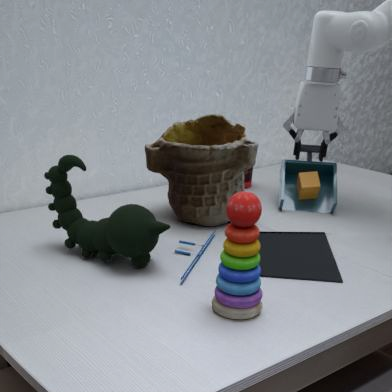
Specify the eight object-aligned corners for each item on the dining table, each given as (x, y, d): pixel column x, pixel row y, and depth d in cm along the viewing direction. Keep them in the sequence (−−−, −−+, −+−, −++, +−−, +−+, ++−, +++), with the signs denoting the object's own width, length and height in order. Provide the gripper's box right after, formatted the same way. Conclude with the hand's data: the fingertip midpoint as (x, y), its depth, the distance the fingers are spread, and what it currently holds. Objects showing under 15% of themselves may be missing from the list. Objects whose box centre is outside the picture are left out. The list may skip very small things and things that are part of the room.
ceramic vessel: (183, 209, 95) (151, 83, 96) (150, 248, 118) (124, 146, 118) (284, 196, 103) (254, 80, 104) (235, 235, 126) (211, 140, 127)
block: (313, 183, 125) (317, 171, 121) (316, 198, 123) (320, 186, 119) (295, 185, 125) (298, 172, 121) (298, 199, 123) (301, 187, 119)
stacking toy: (221, 293, 85) (230, 180, 75) (267, 304, 82) (282, 188, 72) (204, 314, 79) (211, 194, 68) (252, 326, 76) (267, 203, 66)
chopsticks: (153, 272, 87) (181, 277, 86) (191, 225, 107) (215, 229, 107) (152, 279, 88) (181, 285, 87) (191, 232, 108) (214, 236, 107)
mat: (319, 220, 119) (319, 218, 119) (342, 282, 91) (343, 281, 90) (243, 214, 120) (243, 213, 120) (243, 275, 91) (243, 273, 91)
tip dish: (332, 161, 128) (337, 144, 123) (332, 215, 122) (338, 200, 117) (280, 158, 129) (283, 141, 123) (278, 211, 123) (281, 196, 117)
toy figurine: (48, 261, 96) (159, 281, 86) (27, 158, 87) (150, 166, 76) (79, 246, 104) (185, 263, 93) (63, 148, 94) (180, 155, 84)
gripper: (357, 77, 117) (341, 158, 127) (283, 72, 118) (273, 153, 128) (363, 80, 110) (345, 165, 120) (285, 75, 111) (274, 160, 121)
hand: (308, 158), depth 124 cm, fingers closed on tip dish, 5 cm apart
